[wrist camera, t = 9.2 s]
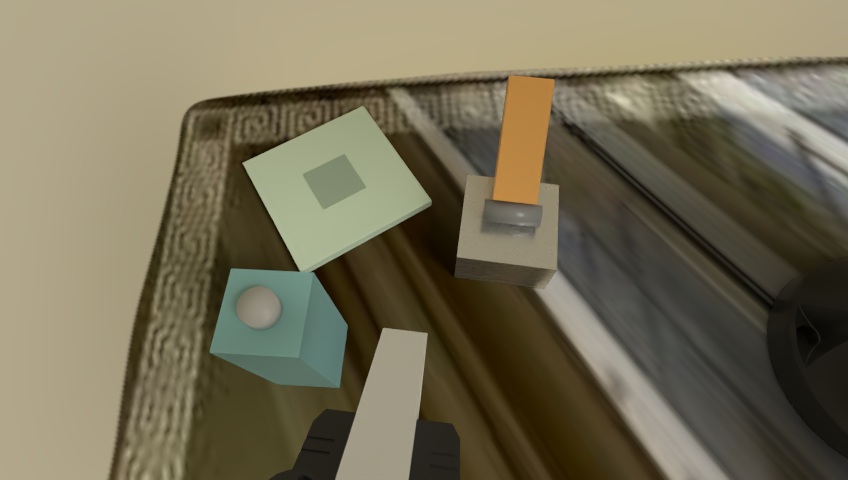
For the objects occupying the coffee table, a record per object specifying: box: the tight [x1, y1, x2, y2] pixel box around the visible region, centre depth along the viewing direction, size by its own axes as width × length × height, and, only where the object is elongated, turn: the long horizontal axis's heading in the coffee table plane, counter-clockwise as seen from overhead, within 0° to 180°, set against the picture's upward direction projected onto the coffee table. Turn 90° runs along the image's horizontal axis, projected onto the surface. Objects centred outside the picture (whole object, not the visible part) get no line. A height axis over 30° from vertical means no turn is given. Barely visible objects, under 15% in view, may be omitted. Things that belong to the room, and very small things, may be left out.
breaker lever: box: [482, 75, 555, 228], centre depth 32 cm, size 2×4×10 cm
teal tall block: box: [209, 268, 348, 388], centre depth 28 cm, size 4×4×12 cm
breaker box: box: [454, 174, 559, 289], centre depth 35 cm, size 7×7×4 cm
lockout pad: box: [243, 106, 432, 272], centre depth 39 cm, size 12×12×1 cm
